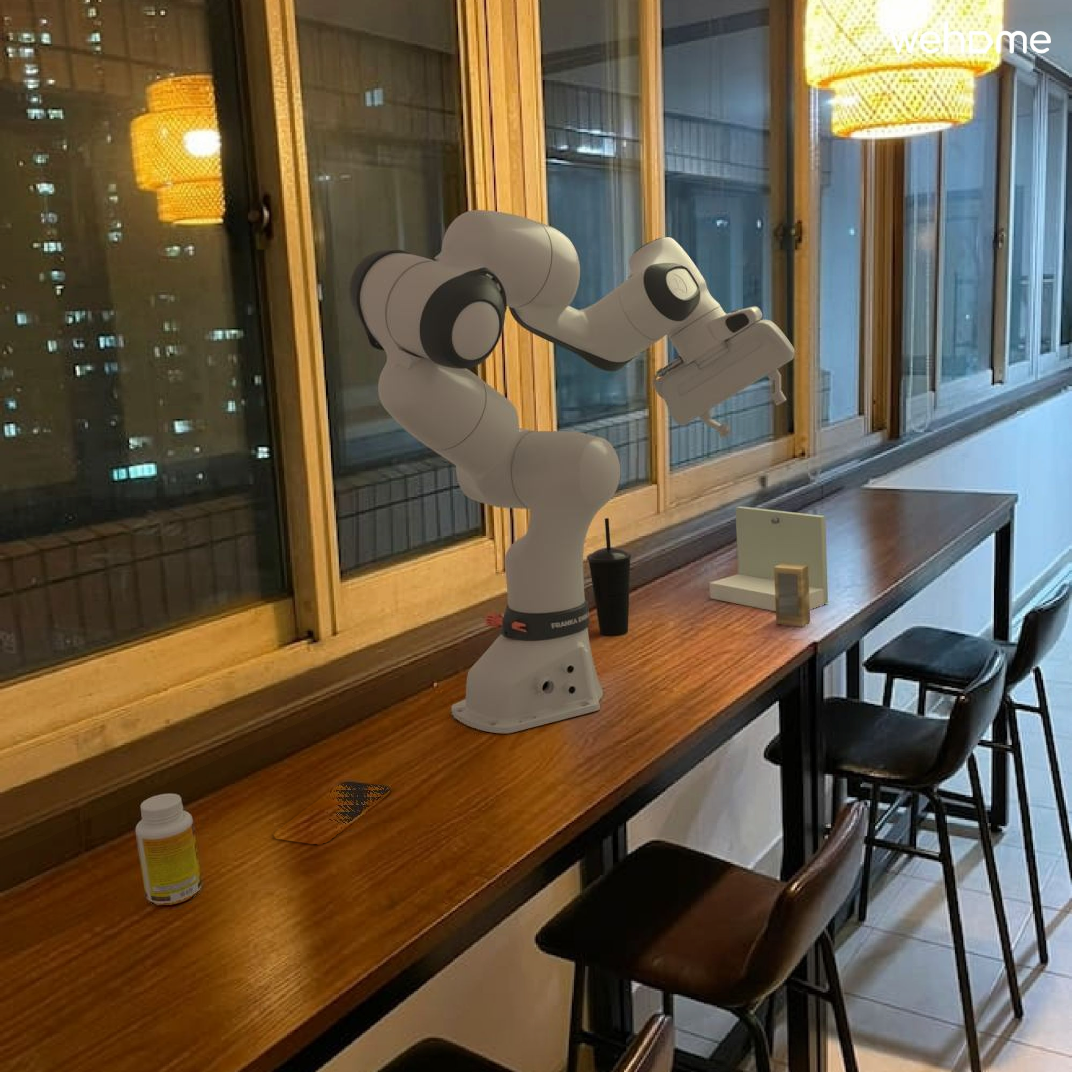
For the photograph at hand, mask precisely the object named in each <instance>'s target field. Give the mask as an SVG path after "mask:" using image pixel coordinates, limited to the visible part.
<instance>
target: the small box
mask: <svg viewBox="0 0 1072 1072" xmlns="http://www.w3.org/2000/svg"><path fill="white" fill-rule="evenodd" d="M774 577H775V602H776V611H775V620H776V621H775V622H776V623H775V624H776V625H777V624H781V625H780V626H786V625H790V626H789V627H795V626H797V627H796V628H804V627H806V626H807V625H809V624H810V623H811V612H810V611H811V610H810V602H809V572H808V565H797V564H784V563H781V564H780V565H778V566H776V567H774ZM809 622H810V623H809ZM808 623H809V624H808ZM806 624H807V625H806ZM805 625H806V626H805Z"/></svg>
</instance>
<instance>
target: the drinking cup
mask: <svg viewBox="0 0 1072 1072" xmlns="http://www.w3.org/2000/svg"><path fill="white" fill-rule="evenodd" d="M604 526H605V542H606V543H605V544H606V547H603V548H599V549H596V550H595V551H593V552H591V553H589V554H588V555H587V556H586V560H587V562H588V565H589V571H590V576H591V577H590V578H591V583H592V584H591V585H592V589H593V590H592V591H593V595H594V596H593V597H594V602H595V608H596V609H595V610H596V614H597V616H596V617H597V621H598V627H599V628H598V629H599V634H600V635H603V636H606V637H608V636H609V637H616V636H623V635H625V634H627V633H628V631H629V611H630V609H629V607H630V605H629V604H630V580H631V579H630V578H631V575H630V574H631V558H632V552H630V551H628V550H625V549H623V548H619V547H613V546H611V534H610V532H611V531H610V519H609V517H605V518H604Z"/></svg>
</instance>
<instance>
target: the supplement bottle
mask: <svg viewBox="0 0 1072 1072" xmlns="http://www.w3.org/2000/svg"><path fill="white" fill-rule="evenodd" d="M140 812H141V814H140V815H141V820H140V821H138V823H136V826H135V838H136V843H137V850H138V856H139V862H140V869H141V875H142V881H143V887H144V892H145V898H146V900H147V899H148V900H149V901H151V902H154V903H159V904H160V903H161V904H163V903H172V902H176V901H178V900H183V899H184V898H187V897H189V896H192V895H193V894H195V893H196V892H197V891H199V890H200V891H201V889H202V887H203V886H202V885H203V880H202V873H201V868H200V859H199V853H198V847H197V841H196V834H195V832H196V831H195V825H194V820H193V816H192V814H191V813H189V812H188V811H186V810H184V805H183V802H182V797H181V795H180V794H177V793H162V794H158V795H153V796H151V797H148V798H147V799H145V800H143V801H142V802H141V804H140ZM201 886H202V887H201ZM200 888H201V889H200ZM200 891H199V892H200ZM148 900H147V901H148ZM149 901H148V902H149Z"/></svg>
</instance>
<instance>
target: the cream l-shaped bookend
mask: <svg viewBox="0 0 1072 1072" xmlns="http://www.w3.org/2000/svg"><path fill="white" fill-rule="evenodd" d="M734 510H735V526H736V527H735V528H736V529H735V530H736V543H737V544H736V546H737V547H736V549H737V551H736V552H737V571H738V572H737V574H735V575H731V576H727V577H724V578H721V579H718V580H714V581H710V582H709V583H708V584H709V598H710V599H712V600H718V601H723V602H727V603H728V602H729V603H732V604H738V605H742V606H746V607H752V608H756V609H761V610H762V609H763V610H767V611H771V612H776V602H775V577H774V567H776V566H778V565H780V564H781V563H784V564H797V565H808V572H809V602H810V611H811V609H812V610H814V609H817V608H819V607H818V606H820V607H823V606H825V605H824V604H826V603H828V604H829V597H828V596H829V593H828V592H829V590H828V589H829V588H828V560H827V559H828V558H827V557H828V556H827V555H828V554H827V530H826V529H827V528H826V527H827V526H826V525H827V523H826V522H827V521H826V515H819V514H810V513H801V512H793V511H785V510H784V511H783V510H777V509H776V510H775V509H774V510H773V509H767V508H757V507H748V506H741V505H739V506H736V507H735V509H734ZM822 605H823V606H822ZM826 605H827V604H826ZM816 607H817V608H816ZM813 608H814V609H813Z"/></svg>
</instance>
